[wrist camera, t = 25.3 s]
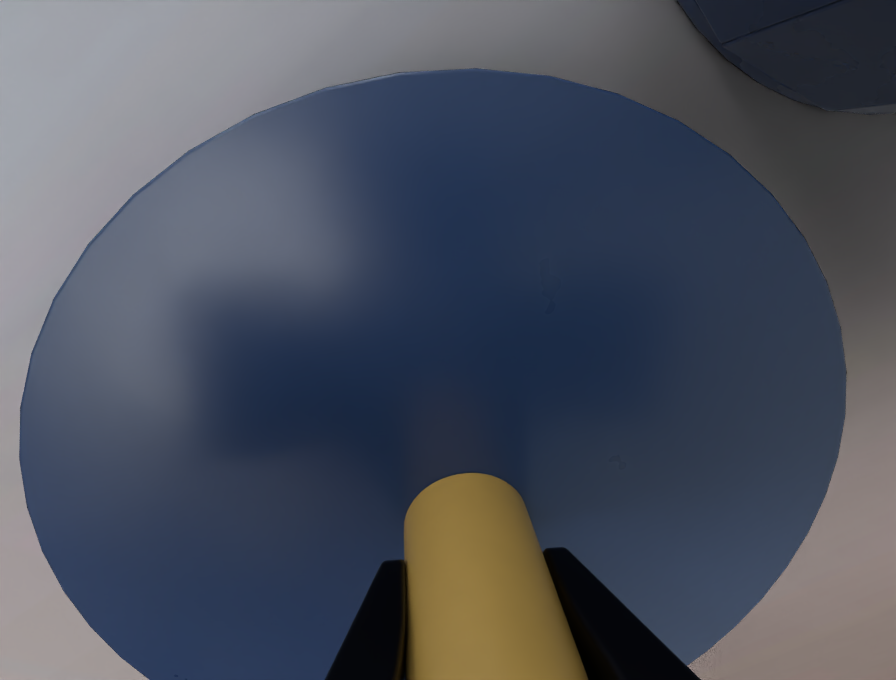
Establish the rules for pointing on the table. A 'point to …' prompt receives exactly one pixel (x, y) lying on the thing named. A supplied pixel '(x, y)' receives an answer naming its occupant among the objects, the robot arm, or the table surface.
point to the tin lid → (431, 384)
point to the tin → (809, 48)
